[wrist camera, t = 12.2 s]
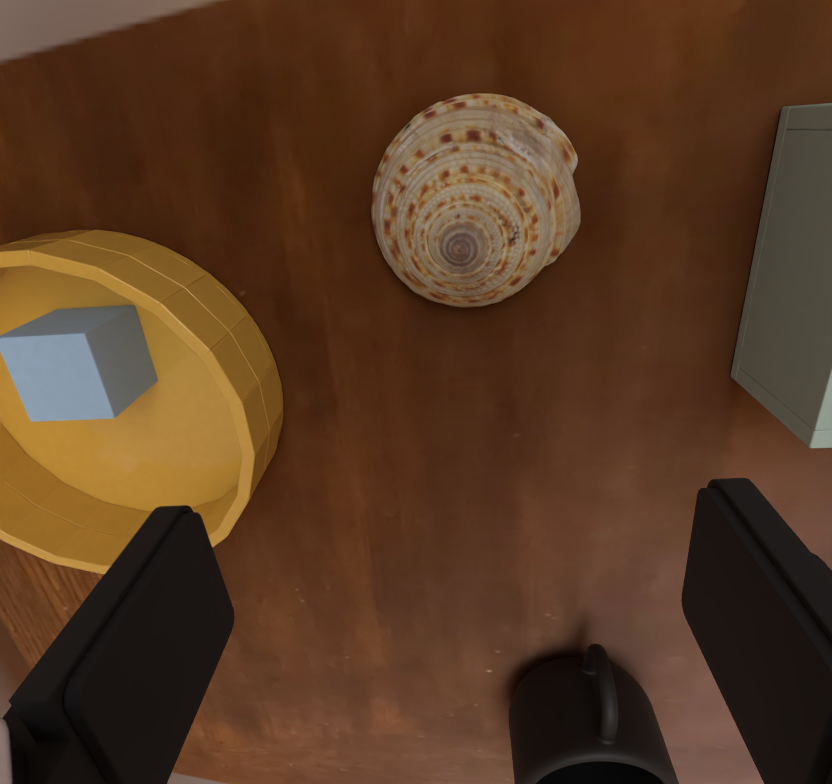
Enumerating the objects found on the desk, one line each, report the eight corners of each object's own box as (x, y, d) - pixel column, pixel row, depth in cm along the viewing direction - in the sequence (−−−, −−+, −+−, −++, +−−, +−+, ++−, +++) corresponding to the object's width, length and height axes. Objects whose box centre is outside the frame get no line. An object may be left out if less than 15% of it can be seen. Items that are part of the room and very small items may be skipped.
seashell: (637, 212, 21) (489, 351, 21) (564, 226, 27) (445, 337, 26) (515, 20, 19) (343, 173, 18) (461, 78, 24) (327, 198, 24)
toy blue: (55, 309, 26) (-7, 338, 23) (135, 304, 26) (84, 333, 22) (84, 384, 28) (30, 422, 24) (158, 380, 28) (114, 418, 24)
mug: (630, 732, 39) (666, 853, 32) (501, 725, 39) (511, 843, 33) (663, 609, 33) (713, 724, 27) (513, 603, 34) (527, 715, 27)
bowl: (-84, 240, 26) (-196, 265, 21) (248, 217, 24) (202, 238, 20) (43, 515, 33) (-22, 576, 28) (306, 508, 32) (282, 572, 27)
